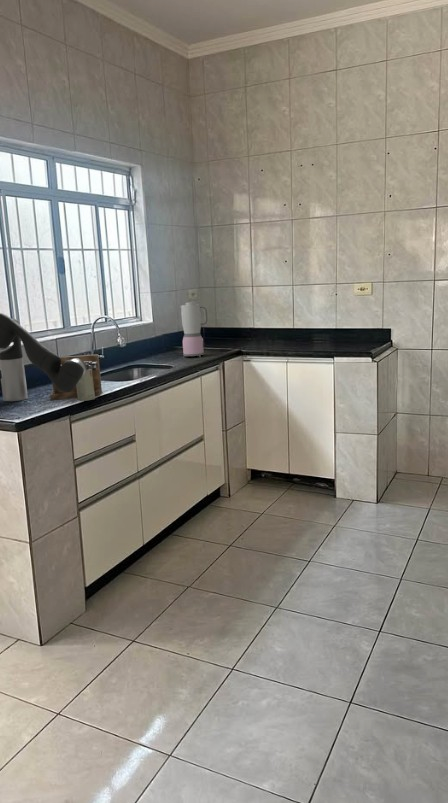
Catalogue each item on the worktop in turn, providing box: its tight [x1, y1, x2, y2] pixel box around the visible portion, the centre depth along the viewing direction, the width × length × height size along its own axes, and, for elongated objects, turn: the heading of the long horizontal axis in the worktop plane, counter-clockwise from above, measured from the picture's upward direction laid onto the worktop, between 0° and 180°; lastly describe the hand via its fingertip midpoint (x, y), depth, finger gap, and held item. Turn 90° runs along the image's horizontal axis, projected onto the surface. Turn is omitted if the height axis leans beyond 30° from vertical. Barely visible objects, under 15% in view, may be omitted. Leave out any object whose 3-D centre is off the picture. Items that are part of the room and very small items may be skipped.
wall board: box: [49, 354, 103, 401], centre depth 256 cm, size 20×11×16 cm, turn 97°
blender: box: [179, 301, 208, 357], centre depth 363 cm, size 16×12×32 cm
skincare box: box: [76, 369, 96, 402], centre depth 247 cm, size 6×4×12 cm
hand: (79, 364), depth 234 cm, fingers open, 8 cm apart
